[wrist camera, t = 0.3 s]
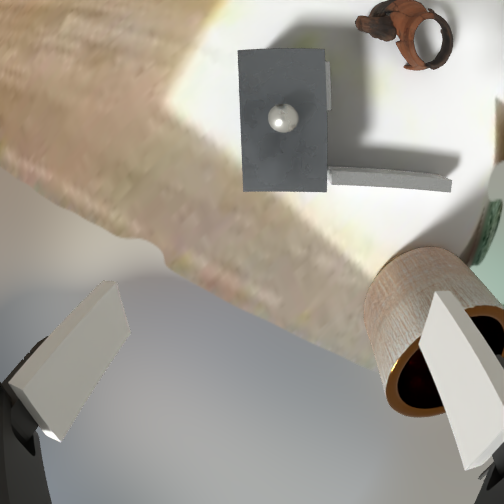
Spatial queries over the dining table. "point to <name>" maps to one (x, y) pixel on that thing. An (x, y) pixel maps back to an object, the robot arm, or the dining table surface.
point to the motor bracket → (299, 127)
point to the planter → (422, 322)
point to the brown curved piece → (405, 30)
